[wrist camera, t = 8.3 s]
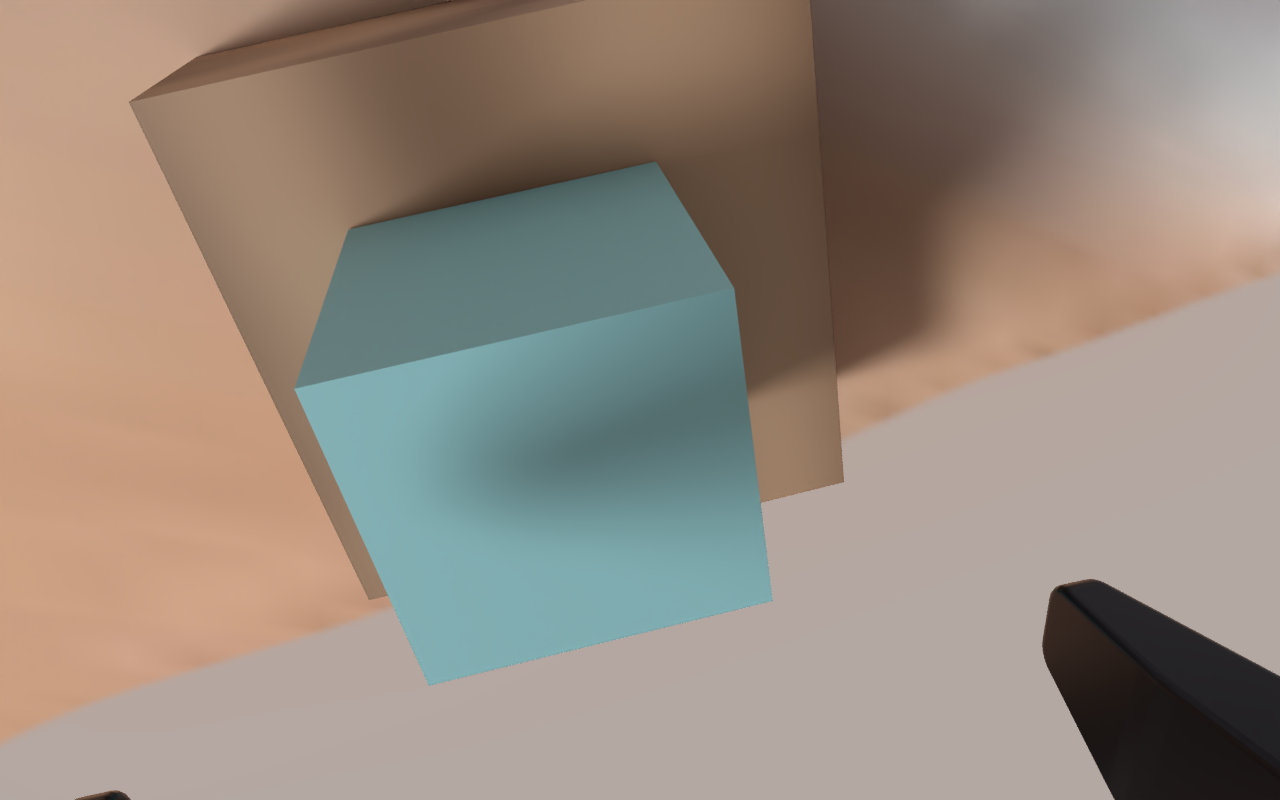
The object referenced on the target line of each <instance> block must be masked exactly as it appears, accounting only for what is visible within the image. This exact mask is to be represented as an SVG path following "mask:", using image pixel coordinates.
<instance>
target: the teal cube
mask: <svg viewBox="0 0 1280 800" xmlns="http://www.w3.org/2000/svg"><path fill="white" fill-rule="evenodd" d="M294 389H295V392H296V394H297V396H298V398H299V400H300V403H301V405H302V407H303V409H304V411H305V414H306V416H307V418H308V420H309V422H310V425H311V427H312V429H313V431H314V433H315V436H316V438H317V440H318V442H319V444H320V447H321V449H322V451H323V453H324V455H325V458H326V460H327V462H328V464H329V466H330V469H331V471H332V473H333V475H334V478H335V480H336V482H337V484H338V486H339V489H340V491H341V493H342V495H343V497H344V500H345V502H346V504H347V506H348V508H349V511H350V513H351V515H352V517H353V519H354V522H355V524H356V526H357V528H358V530H359V533H360V535H361V537H362V539H363V541H364V544H365V546H366V548H367V550H368V552H369V555H370V557H371V559H372V561H373V563H374V566H375V568H376V570H377V572H378V574H379V577H380V579H381V581H382V583H383V586H384V588H385V590H386V592H387V594H388V597H389V599H390V601H391V603H392V605H393V608H394V610H395V612H396V614H397V616H398V619H399V621H400V623H401V625H402V627H403V630H404V632H405V634H406V636H407V638H408V641H409V643H410V645H411V647H412V649H413V652H414V654H415V656H416V658H417V660H418V663H419V665H420V667H421V669H422V671H423V673H424V676H425V678H426V680H427V682H428V685H434V684H438V683H442V682H446V681H450V680H454V679H458V678H462V677H466V676H470V675H474V674H478V673H482V672H486V671H491V670H494V669H498V668H502V667H507V666H511V665H514V664H519V663H523V662H527V661H531V660H535V659H539V658H543V657H547V656H551V655H555V654H559V653H563V652H567V651H572V650H576V649H580V648H584V647H588V646H592V645H596V644H600V643H604V642H608V641H612V640H616V639H620V638H624V637H628V636H632V635H636V634H640V633H645V632H648V631H653V630H657V629H660V628H665V627H669V626H673V625H676V624H681V623H685V622H689V621H693V620H697V619H701V618H705V617H709V616H713V615H717V614H722V613H725V612H729V611H734V610H738V609H741V608H746V607H750V606H754V605H758V604H762V603H766V602H770V601H773V600H772V593H771V584H770V576H769V567H768V559H767V551H766V543H765V535H764V527H763V519H762V511H761V502H760V494H759V486H758V478H757V470H756V462H755V453H754V445H753V437H752V429H751V421H750V413H749V405H748V397H747V388H746V380H745V372H744V364H743V356H742V348H741V340H740V332H739V323H738V315H737V307H736V299H735V291H734V287H733V285H732V284H731V282H730V281H729V279H728V277H727V276H726V274H725V272H724V271H723V269H722V268H721V266H720V264H719V263H718V261H717V260H716V258H715V256H714V255H713V253H712V251H711V250H710V248H709V247H708V245H707V243H706V242H705V240H704V238H703V237H702V235H701V234H700V232H699V230H698V229H697V227H696V226H695V224H694V222H693V221H692V219H691V217H690V216H689V214H688V213H687V211H686V209H685V208H684V206H683V204H682V203H681V201H680V200H679V198H678V196H677V195H676V193H675V192H674V190H673V188H672V187H671V185H670V183H669V182H668V180H667V179H666V177H665V175H664V174H663V172H662V170H661V169H660V167H659V166H658V164H657V162H651V163H647V164H642V165H638V166H633V167H629V168H624V169H620V170H615V171H611V172H606V173H602V174H597V175H593V176H588V177H584V178H579V179H575V180H570V181H566V182H561V183H556V184H552V185H547V186H543V187H538V188H534V189H529V190H525V191H520V192H516V193H511V194H507V195H502V196H498V197H493V198H489V199H484V200H480V201H475V202H470V203H466V204H461V205H457V206H452V207H448V208H443V209H439V210H434V211H430V212H425V213H421V214H416V215H412V216H407V217H403V218H398V219H394V220H389V221H385V222H380V223H375V224H371V225H366V226H362V227H357V228H353V229H348V232H347V235H346V238H345V241H344V243H343V246H342V249H341V252H340V255H339V258H338V261H337V264H336V267H335V270H334V273H333V276H332V279H331V282H330V285H329V288H328V291H327V294H326V297H325V300H324V302H323V305H322V308H321V311H320V314H319V317H318V320H317V323H316V326H315V329H314V332H313V335H312V338H311V341H310V344H309V347H308V350H307V353H306V356H305V359H304V362H303V364H302V367H301V370H300V373H299V376H298V379H297V382H296V385H295V388H294Z"/></svg>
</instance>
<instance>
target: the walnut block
mask: <svg viewBox="0 0 1280 800" xmlns="http://www.w3.org/2000/svg"><path fill="white" fill-rule="evenodd" d="M129 103H130V105H131V107H132V109H133V111H134V114H135V116H136V118H137V120H138V122H139V124H140V126H141V128H142V130H143V132H144V134H145V136H146V138H147V140H148V143H149V145H150V147H151V149H152V151H153V153H154V155H155V157H156V159H157V161H158V163H159V165H160V167H161V170H162V172H163V174H164V176H165V178H166V180H167V182H168V184H169V186H170V188H171V190H172V192H173V194H174V196H175V199H176V201H177V203H178V205H179V207H180V209H181V211H182V213H183V215H184V217H185V219H186V221H187V223H188V225H189V228H190V230H191V232H192V234H193V236H194V238H195V240H196V242H197V244H198V246H199V248H200V250H201V252H202V255H203V257H204V259H205V261H206V263H207V265H208V267H209V269H210V271H211V273H212V275H213V277H214V279H215V281H216V284H217V286H218V288H219V290H220V292H221V294H222V296H223V298H224V300H225V302H226V304H227V306H228V308H229V311H230V313H231V315H232V317H233V319H234V321H235V323H236V325H237V327H238V329H239V331H240V333H241V335H242V337H243V340H244V342H245V344H246V346H247V348H248V350H249V352H250V354H251V356H252V358H253V360H254V362H255V364H256V367H257V369H258V371H259V373H260V375H261V377H262V379H263V381H264V383H265V385H266V387H267V389H268V391H269V393H270V396H271V398H272V400H273V402H274V404H275V406H276V408H277V410H278V412H279V414H280V416H281V418H282V420H283V422H284V425H285V427H286V429H287V431H288V433H289V435H290V437H291V439H292V441H293V443H294V445H295V447H296V449H297V452H298V454H299V456H300V458H301V460H302V462H303V464H304V466H305V468H306V470H307V472H308V474H309V476H310V478H311V481H312V483H313V485H314V487H315V489H316V491H317V493H318V495H319V497H320V499H321V501H322V503H323V505H324V508H325V510H326V512H327V514H328V516H329V518H330V520H331V522H332V524H333V526H334V528H335V530H336V532H337V534H338V537H339V539H340V541H341V543H342V545H343V547H344V549H345V551H346V553H347V555H348V557H349V559H350V561H351V564H352V566H353V568H354V570H355V572H356V574H357V576H358V578H359V580H360V582H361V584H362V586H363V588H364V590H365V593H366V595H367V597H368V599H369V600H372V599H376V598H380V597H384V596H388V594H387V592H386V590H385V588H384V586H383V583H382V581H381V579H380V577H379V574H378V572H377V570H376V568H375V566H374V563H373V561H372V559H371V557H370V555H369V552H368V550H367V548H366V546H365V544H364V541H363V539H362V537H361V535H360V533H359V530H358V528H357V526H356V524H355V522H354V519H353V517H352V515H351V513H350V511H349V508H348V506H347V504H346V502H345V500H344V497H343V495H342V493H341V491H340V489H339V486H338V484H337V482H336V480H335V478H334V475H333V473H332V471H331V469H330V466H329V464H328V462H327V460H326V458H325V455H324V453H323V451H322V449H321V447H320V444H319V442H318V440H317V438H316V436H315V433H314V431H313V429H312V427H311V425H310V422H309V420H308V418H307V416H306V414H305V411H304V409H303V407H302V405H301V403H300V400H299V398H298V396H297V394H296V392H295V389H294V388H295V385H296V382H297V379H298V376H299V373H300V370H301V367H302V364H303V362H304V359H305V356H306V353H307V350H308V347H309V344H310V341H311V338H312V335H313V332H314V329H315V326H316V323H317V320H318V317H319V314H320V311H321V308H322V305H323V302H324V300H325V297H326V294H327V291H328V288H329V285H330V282H331V279H332V276H333V273H334V270H335V267H336V264H337V261H338V258H339V255H340V252H341V249H342V246H343V243H344V241H345V238H346V235H347V232H348V229H353V228H357V227H362V226H366V225H371V224H375V223H380V222H385V221H389V220H394V219H398V218H403V217H407V216H412V215H416V214H421V213H425V212H430V211H434V210H439V209H443V208H448V207H452V206H457V205H461V204H466V203H470V202H475V201H480V200H484V199H489V198H493V197H498V196H502V195H507V194H511V193H516V192H520V191H525V190H529V189H534V188H538V187H543V186H547V185H552V184H556V183H561V182H566V181H570V180H575V179H579V178H584V177H588V176H593V175H597V174H602V173H606V172H611V171H615V170H620V169H624V168H629V167H633V166H638V165H642V164H647V163H651V162H657V164H658V166H659V167H660V169H661V170H662V172H663V174H664V175H665V177H666V179H667V180H668V182H669V183H670V185H671V187H672V188H673V190H674V192H675V193H676V195H677V196H678V198H679V200H680V201H681V203H682V204H683V206H684V208H685V209H686V211H687V213H688V214H689V216H690V217H691V219H692V221H693V222H694V224H695V226H696V227H697V229H698V230H699V232H700V234H701V235H702V237H703V238H704V240H705V242H706V243H707V245H708V247H709V248H710V250H711V251H712V253H713V255H714V256H715V258H716V260H717V261H718V263H719V264H720V266H721V268H722V269H723V271H724V272H725V274H726V276H727V277H728V279H729V281H730V282H731V284H732V285H733V287H734V291H735V299H736V307H737V315H738V323H739V332H740V340H741V348H742V356H743V364H744V372H745V380H746V388H747V397H748V405H749V413H750V421H751V429H752V437H753V445H754V453H755V462H756V470H757V478H758V486H759V494H760V502H765V501H769V500H773V499H777V498H781V497H785V496H789V495H794V494H797V493H801V492H805V491H810V490H814V489H818V488H821V487H825V486H830V485H834V484H838V483H842V482H844V477H843V464H842V463H843V462H842V448H841V434H840V420H839V405H838V391H837V377H836V363H835V349H834V334H833V320H832V306H831V292H830V278H829V263H828V249H827V235H826V221H825V207H824V192H823V178H822V164H821V150H820V136H819V121H818V107H817V93H816V79H815V65H814V50H813V36H812V22H811V8H810V0H453V1H449V2H444V3H440V4H435V5H431V6H426V7H422V8H417V9H413V10H408V11H403V12H399V13H394V14H390V15H385V16H381V17H376V18H372V19H367V20H363V21H358V22H354V23H349V24H345V25H340V26H335V27H331V28H326V29H322V30H317V31H313V32H308V33H304V34H299V35H295V36H290V37H286V38H281V39H277V40H272V41H267V42H263V43H258V44H254V45H249V46H245V47H240V48H236V49H231V50H227V51H222V52H218V53H213V54H209V55H204V56H199V57H196V58H194V59H193V60H191V61H190V62H188V63H187V64H185V65H184V66H182V67H181V68H179V69H178V70H176V71H175V72H173V73H172V74H170V75H169V76H167V77H166V78H164V79H163V80H161V81H160V82H158V83H157V84H155V85H154V86H152V87H151V88H149V89H148V90H146V91H145V92H143V93H142V94H140V95H139V96H137V97H136V98H134V99H133V100H131V101H130V102H129Z"/></svg>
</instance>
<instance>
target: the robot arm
mask: <svg viewBox="0 0 1280 800" xmlns="http://www.w3.org/2000/svg"><path fill="white" fill-rule="evenodd" d="M1042 643H1043V644H1042V647H1043V654H1044V659H1045V662H1046V664H1047V667H1048V669H1049V671H1050V673H1051V675H1052V677H1053V679H1054V681H1055V683H1056V685H1057V687H1058V689H1059V691H1060V693H1061V695H1062V697H1063V699H1064V701H1065V703H1066V705H1067V707H1068V709H1069V711H1070V713H1071V715H1072V717H1073V718H1074V721H1075V723H1076V724H1077V727H1078V729H1079V731H1080V733H1081V735H1082V737H1083V739H1084V741H1085V742H1086V745H1087V746H1088V749H1089V751H1090V752H1091V754H1092V756H1093V758H1094V760H1095V762H1096V764H1097V766H1098V768H1099V770H1100V772H1101V774H1102V776H1103V778H1104V780H1105V782H1106V784H1107V786H1108V788H1109V790H1110V792H1111V794H1112V795H1113V798H1114V799H1115V800H1280V676H1279V675H1277V674H1275V673H1273V672H1271V671H1269V670H1267V669H1265V668H1264V667H1262V666H1260V665H1258V664H1256V663H1254V662H1252V661H1250V660H1248V659H1247V658H1245V657H1243V656H1241V655H1239V654H1237V653H1235V652H1234V651H1232V650H1230V649H1228V648H1226V647H1224V646H1222V645H1220V644H1219V643H1217V642H1215V641H1213V640H1211V639H1209V638H1207V637H1205V636H1204V635H1202V634H1200V633H1198V632H1196V631H1194V630H1192V629H1190V628H1188V627H1187V626H1185V625H1183V624H1181V623H1179V622H1177V621H1175V620H1174V619H1172V618H1170V617H1168V616H1166V615H1164V614H1162V613H1160V612H1159V611H1157V610H1155V609H1153V608H1151V607H1149V606H1147V605H1145V604H1143V603H1142V602H1140V601H1138V600H1136V599H1134V598H1132V597H1130V596H1128V595H1127V594H1124V593H1123V592H1121V591H1119V590H1117V589H1115V588H1113V587H1112V586H1109V585H1108V584H1106V583H1104V582H1101V581H1098V580H1094V579H1087V580H1082V581H1077V582H1072V583H1068V584H1064V585H1059V586H1057V587H1056V588H1055V589H1054V590H1053V591H1052V592H1051V595H1050V599H1049V605H1048V611H1047V617H1046V623H1045V629H1044V635H1043V642H1042ZM75 800H130V798H129V797H128V796H127V795H126V794H125V793H122V792H120V791H109V792H104V793H99V794H95V795H90V796H85V797H81V798H78V799H75Z"/></svg>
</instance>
